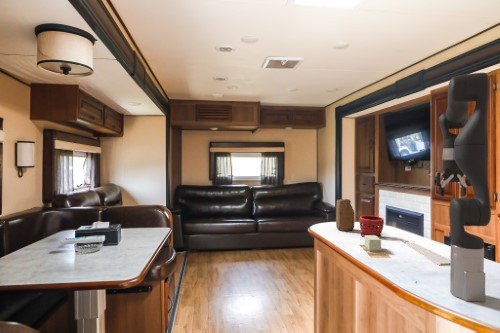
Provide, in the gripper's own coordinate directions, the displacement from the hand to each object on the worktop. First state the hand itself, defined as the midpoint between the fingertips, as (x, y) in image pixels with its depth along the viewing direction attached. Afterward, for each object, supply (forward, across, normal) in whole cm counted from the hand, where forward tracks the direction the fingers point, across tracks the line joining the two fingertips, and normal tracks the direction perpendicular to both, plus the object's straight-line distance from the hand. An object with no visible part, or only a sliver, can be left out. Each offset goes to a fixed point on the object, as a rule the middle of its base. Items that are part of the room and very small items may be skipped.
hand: (452, 196), depth 130 cm
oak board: (+30, -29, +13) cm, 44 cm away
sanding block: (+29, -29, +15) cm, 44 cm away
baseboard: (+31, -5, +14) cm, 34 cm away
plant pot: (+30, -21, +43) cm, 57 cm away
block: (+30, -32, +61) cm, 75 cm away
